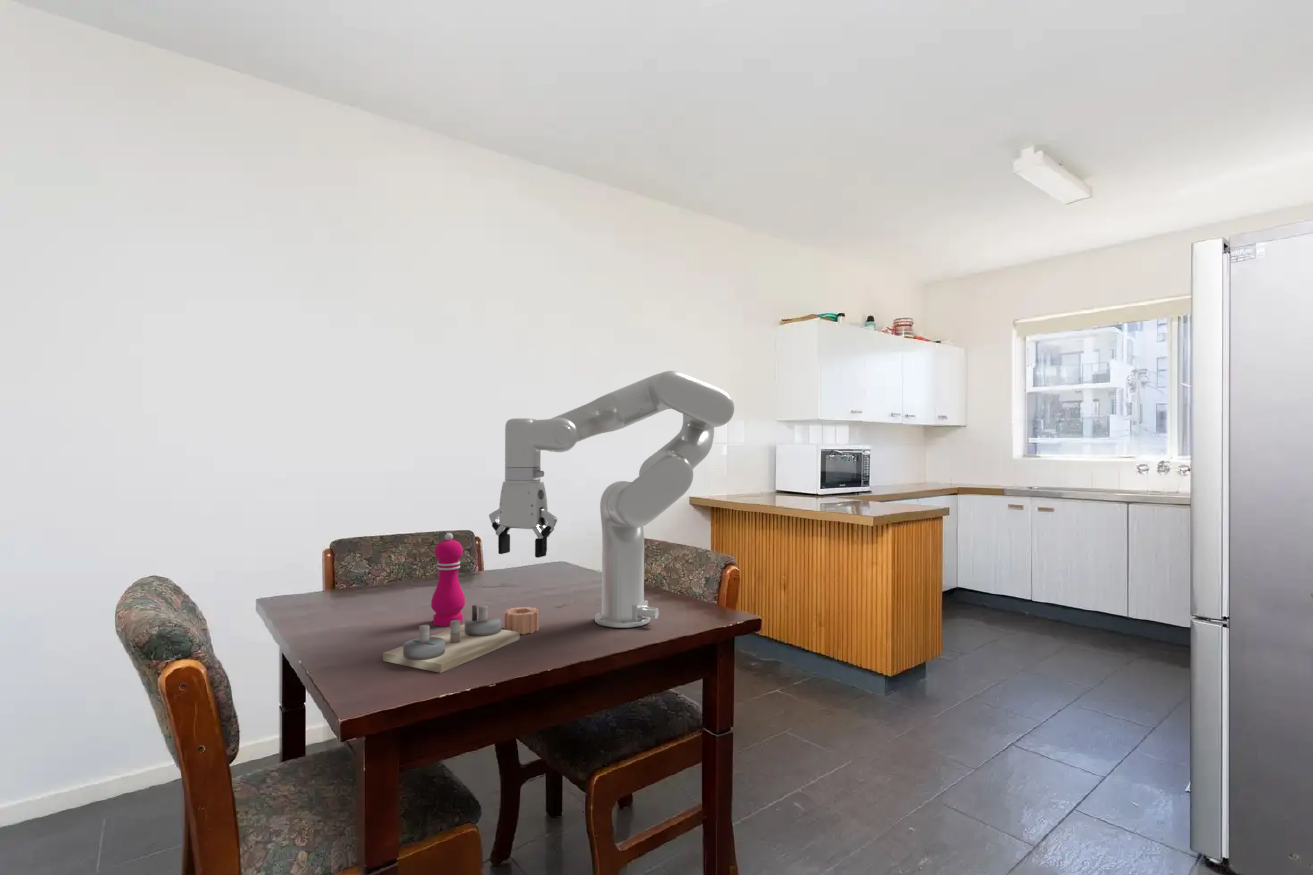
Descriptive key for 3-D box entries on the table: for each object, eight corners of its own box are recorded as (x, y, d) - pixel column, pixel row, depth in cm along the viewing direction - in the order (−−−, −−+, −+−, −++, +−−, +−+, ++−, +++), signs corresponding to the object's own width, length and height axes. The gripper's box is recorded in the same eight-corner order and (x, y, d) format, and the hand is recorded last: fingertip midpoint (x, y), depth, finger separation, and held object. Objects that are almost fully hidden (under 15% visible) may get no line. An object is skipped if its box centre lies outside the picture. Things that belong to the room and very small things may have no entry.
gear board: (521, 638, 134) (521, 606, 135) (438, 674, 114) (439, 636, 114) (468, 629, 141) (468, 599, 141) (380, 661, 120) (381, 626, 120)
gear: (545, 627, 143) (545, 609, 143) (525, 636, 136) (525, 616, 136) (518, 623, 146) (518, 605, 146) (497, 631, 139) (497, 612, 139)
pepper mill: (454, 628, 142) (455, 535, 142) (424, 626, 143) (425, 534, 144) (470, 619, 149) (471, 531, 149) (441, 617, 150) (442, 530, 151)
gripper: (566, 475, 141) (565, 555, 141) (501, 473, 149) (501, 549, 148) (545, 477, 134) (545, 560, 134) (479, 475, 142) (479, 554, 142)
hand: (522, 554), depth 141 cm, fingers open, 9 cm apart
